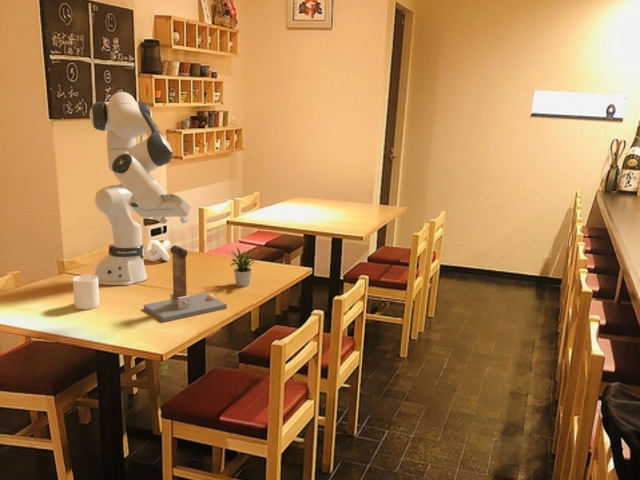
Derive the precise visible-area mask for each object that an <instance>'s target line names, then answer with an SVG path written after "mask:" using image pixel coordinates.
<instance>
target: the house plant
mask: <svg viewBox="0 0 640 480" xmlns="http://www.w3.org/2000/svg"><path fill="white" fill-rule="evenodd" d="M244 247H246V245H244ZM235 248H236V250H237V253H238V254H236V252H235V250H234V249H233V248H232V247H229V249H230V250H231V251H227V250H226V251H225V253H226V254H228V255H231V256H232V255H233V256H232V258H233V259H231V261H232V262H231V264H230V268H231V267H232V266H235V265H236V268H234V269H233V273H234V279H235V285H236V286H237V287H248V286H250V281H251V277H252V268H250V267H251V265H252V264H255V263H256V261H257V259H251V257H252V256H253V255H254V254H255V253H257V252H258V251H260V249H256V250H254V251H253V252H251V253H250V251H251V250H250V249H251V248H249V249H248V251H247V253H246V256H245V255H244V254H245V251H242V252H241V250H240V249H239V247H238V246H236V247H235ZM227 252H228V253H227ZM229 252H230V253H229ZM244 256H245V257H244ZM250 259H251V260H250Z"/></svg>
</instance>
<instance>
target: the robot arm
mask: <svg viewBox="0 0 640 480" xmlns="http://www.w3.org/2000/svg"><path fill="white" fill-rule="evenodd" d="M108 100H109V101H97V102H95V103H94V104H92V105H91V108H90V110H89V119H90V123H91V124H92V126H93V128H94V129H95V130H97V131H102V132H103V131H106V132H107V133H106V149H107V151H106V152H107V161H108V162H107V165H108V169H109V170H110V171H111V173H113V174H114V175H115V178H116V179H117V180H118V181H119V183H120V184H119V183H118V184H112V185H107V186H105V187H102V188H100V189H98V190H97V192H96V193H95V196H94V197H95V198H94V201H95V202H94V203H95V205H96V207H97V209H98V210H99V211H100V212H101V213H103V214H104V215H105V216H106V217H107V219H108V221H109V223H110V225H111V230H112V240H113V243H110V244H109V245H108V250H107V251H108V255H107V256H105V257H104V258H103V259H101V260H100V261H99V262H98V263H97V264H96V266H95V270H94V273H93V274H92V275H95V276H97V277H98V285H105V286H107V285H109V286H113V285H114V286H129V285H132V284H135V283H140V282H143V281H145V280H147V279H148V275H147V271H146V270H147V269H146V267H145V263H144V262H145V261H144V258H145V253H144V250H145V247H144V244H143V235H142V231H143V230H142V225H141V224H140V223H139V222H137V221H136V220H134V219H133V218H132V211H134V212H135V213H137V214H138V215H139V216H140V217H142V218H144V219H146V218H147V219H148V218H149V219H150V218H152V219H154V220H155V221H158V222H159V223H160V224H162V225H164V224H166V223H167V219H166V218H168V217H169V218H173V217H179V218H180V220H179V221H180V223H182V224H187V223H188V221H189V218H188V216H189V214H190V211H191V208H192V207H191V205H190V204H189V203H188V202H187V201H186V200H185V199H184V198H183V197H181V196H180V195H178V194H174V193H170V194H169V193H168V194H167V193H166V190H165V189H164V188H163V187H162V185H161V184H160V183H159V182H158V181H157V179H155V178H153V177H152V176H151V172H152V171H154V170H157V168H160V167H162V166H165V165H167V164H169V163H170V162H171V161H172V158H173V154H174V153H173V152H174V151H173V149H172V147H171V144H170V143H169V142H168V141H167V139H166V138H165V137H164V136H163V134H162V132H161V131H160V129H159V127H158V125H157V124H156V122H155V121H154V120H153V113H152V109H151V108H150V105H149V104H148V103H147V102H145V101H142V100H141V101H139V100H138V101H136V99H135V98H134V96H132V94H130V93H128V92H126V91H118V92H115V93H114V94H113V95H111V96H110V98H109V99H108ZM143 135H147V137H146V138H145V139H143V140H142V141H139V142H138V143H137V139H136V138H139V137H140V136H143Z"/></svg>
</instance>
